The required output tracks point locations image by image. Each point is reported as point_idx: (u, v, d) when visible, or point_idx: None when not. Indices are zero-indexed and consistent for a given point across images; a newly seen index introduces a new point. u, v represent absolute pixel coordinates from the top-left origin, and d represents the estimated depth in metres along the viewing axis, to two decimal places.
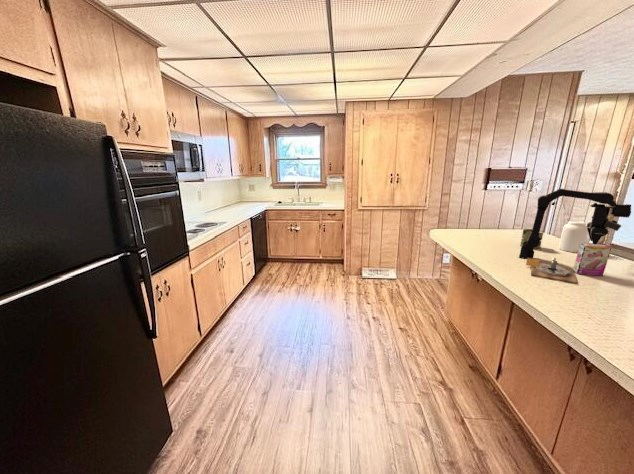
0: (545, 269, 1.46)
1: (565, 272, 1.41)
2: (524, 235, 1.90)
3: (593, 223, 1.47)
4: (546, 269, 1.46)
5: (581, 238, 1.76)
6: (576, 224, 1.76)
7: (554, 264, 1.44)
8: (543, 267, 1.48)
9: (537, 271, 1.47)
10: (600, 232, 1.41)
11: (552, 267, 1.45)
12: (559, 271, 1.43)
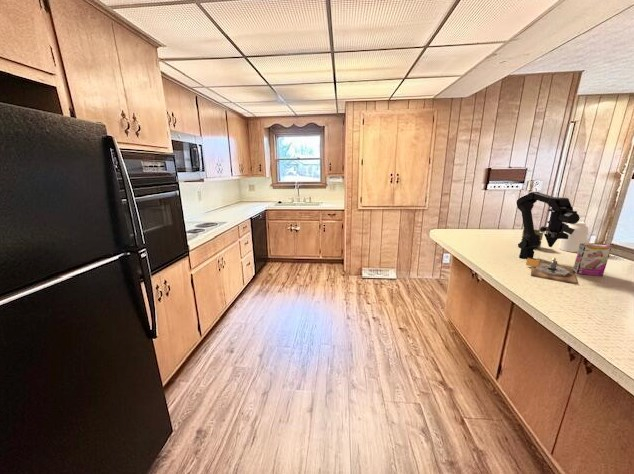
0: (545, 269, 1.46)
1: (565, 272, 1.41)
2: None
3: (551, 228, 1.49)
4: (546, 269, 1.46)
5: (581, 238, 1.76)
6: (576, 224, 1.76)
7: (554, 264, 1.44)
8: (543, 267, 1.48)
9: (537, 271, 1.47)
10: (562, 237, 1.42)
11: (552, 267, 1.45)
12: (559, 271, 1.43)
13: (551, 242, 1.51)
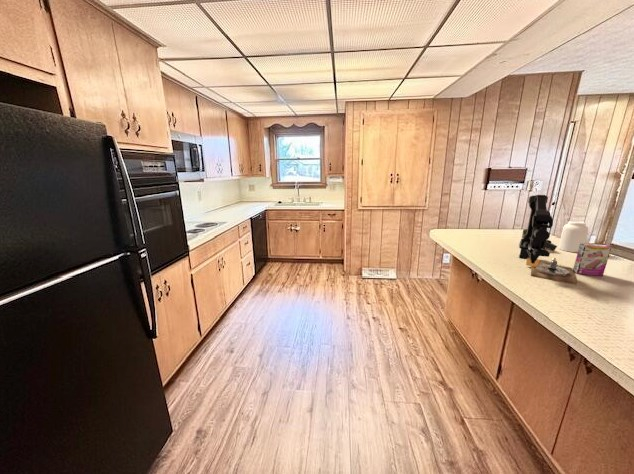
0: (545, 269, 1.46)
1: (565, 272, 1.41)
2: None
3: (533, 244, 1.45)
4: (546, 269, 1.46)
5: (581, 238, 1.76)
6: (576, 224, 1.76)
7: (554, 264, 1.44)
8: (543, 267, 1.48)
9: (537, 271, 1.47)
10: (543, 255, 1.38)
11: (552, 267, 1.45)
12: (559, 271, 1.43)
13: (533, 258, 1.47)
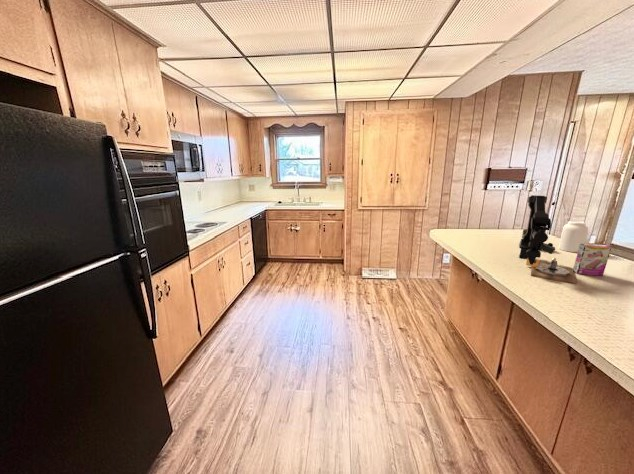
0: (545, 269, 1.46)
1: (565, 272, 1.41)
2: None
3: (530, 245, 1.49)
4: (546, 269, 1.46)
5: (581, 238, 1.76)
6: (576, 224, 1.76)
7: (554, 264, 1.44)
8: (543, 267, 1.48)
9: (537, 271, 1.47)
10: (533, 255, 1.43)
11: (552, 267, 1.45)
12: (559, 271, 1.43)
13: (531, 259, 1.51)
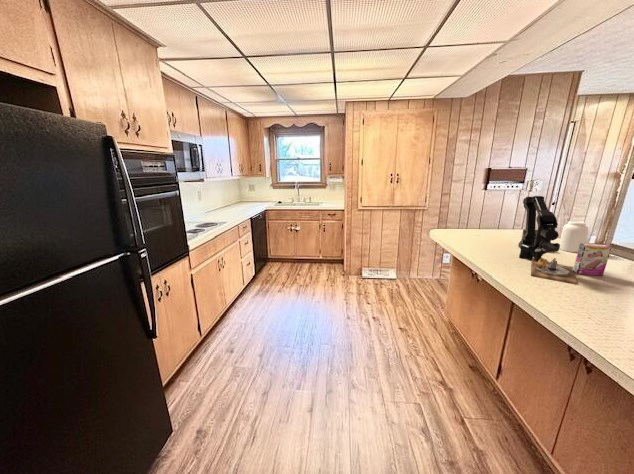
0: (543, 267, 1.49)
1: (560, 273, 1.41)
2: None
3: (534, 242, 1.54)
4: (544, 267, 1.48)
5: (581, 238, 1.76)
6: (576, 224, 1.76)
7: (554, 264, 1.44)
8: (544, 266, 1.50)
9: (537, 271, 1.47)
10: (524, 249, 1.52)
11: (552, 267, 1.45)
12: (554, 271, 1.43)
13: (534, 256, 1.55)
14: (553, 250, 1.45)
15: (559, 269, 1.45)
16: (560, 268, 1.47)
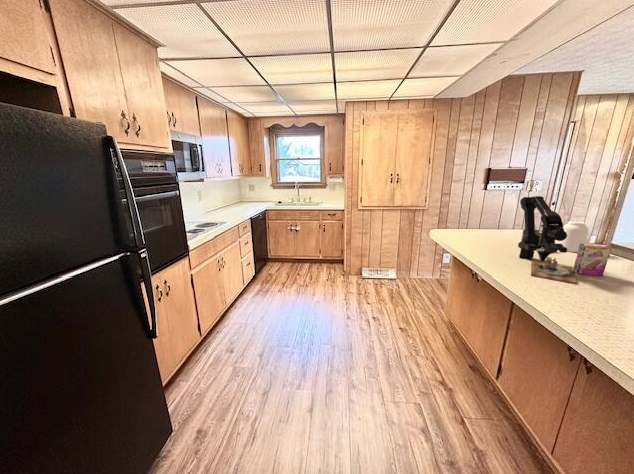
0: (544, 266, 1.50)
1: (554, 272, 1.42)
2: None
3: None
4: (544, 266, 1.49)
5: (581, 238, 1.76)
6: (576, 224, 1.76)
7: (554, 264, 1.44)
8: (547, 266, 1.50)
9: (537, 271, 1.47)
10: (526, 247, 1.55)
11: (552, 267, 1.45)
12: (551, 270, 1.44)
13: (540, 256, 1.55)
14: (553, 250, 1.45)
15: (560, 270, 1.44)
16: (563, 270, 1.45)
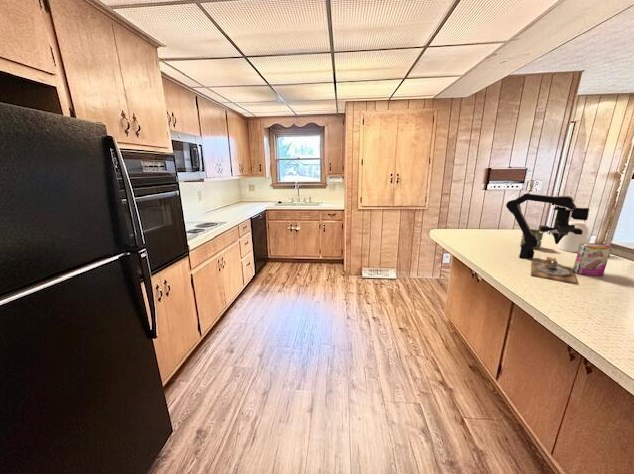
0: (544, 266, 1.50)
1: (554, 272, 1.42)
2: None
3: None
4: (544, 266, 1.49)
5: (581, 238, 1.76)
6: (576, 224, 1.76)
7: (554, 264, 1.44)
8: (547, 266, 1.50)
9: (537, 271, 1.47)
10: (539, 229, 1.61)
11: (552, 267, 1.45)
12: (551, 270, 1.44)
13: (554, 238, 1.59)
14: (565, 231, 1.49)
15: (560, 270, 1.44)
16: (563, 270, 1.45)
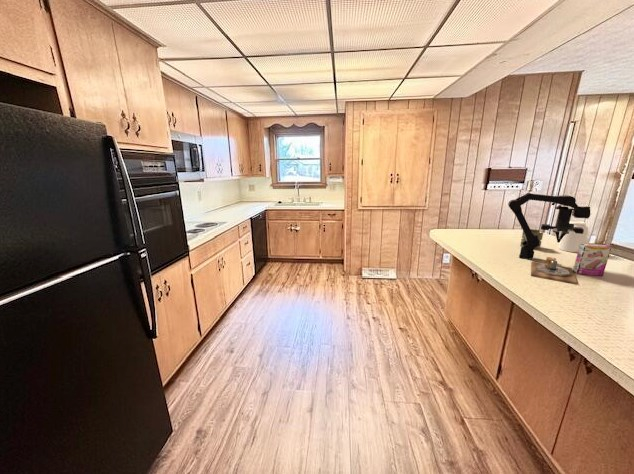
0: (544, 266, 1.50)
1: (554, 272, 1.42)
2: (524, 235, 1.90)
3: None
4: (544, 266, 1.49)
5: (581, 238, 1.76)
6: (576, 224, 1.76)
7: (554, 264, 1.44)
8: (547, 266, 1.50)
9: (537, 271, 1.47)
10: (541, 227, 1.65)
11: (552, 267, 1.45)
12: (551, 270, 1.44)
13: (556, 237, 1.62)
14: (563, 229, 1.53)
15: (560, 270, 1.44)
16: (563, 270, 1.45)
